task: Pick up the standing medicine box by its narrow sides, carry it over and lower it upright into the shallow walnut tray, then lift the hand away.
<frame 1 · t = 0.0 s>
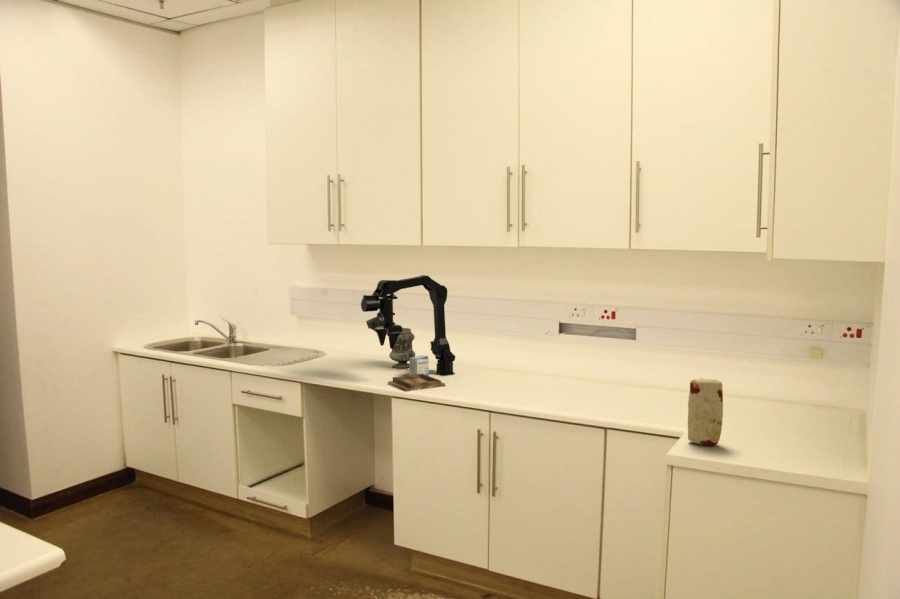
hand: (386, 347, 295), 15 cm above the worktop, tool pointing down, fingers open, 9 cm apart
food model: (704, 444, 209), on the worktop
walnut tray: (416, 384, 290), on the worktop
grey ornate vase: (402, 367, 327), on the worktop
medicine box: (419, 376, 307), on the worktop
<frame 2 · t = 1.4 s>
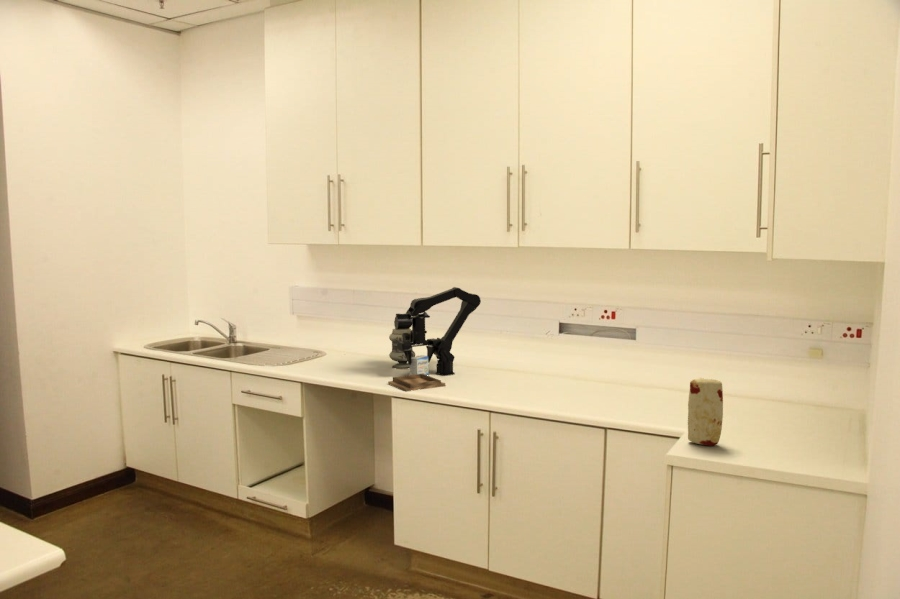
hand: (419, 363, 306), 6 cm above the worktop, tool pointing down, fingers open, 9 cm apart
nothing on the worktop moved.
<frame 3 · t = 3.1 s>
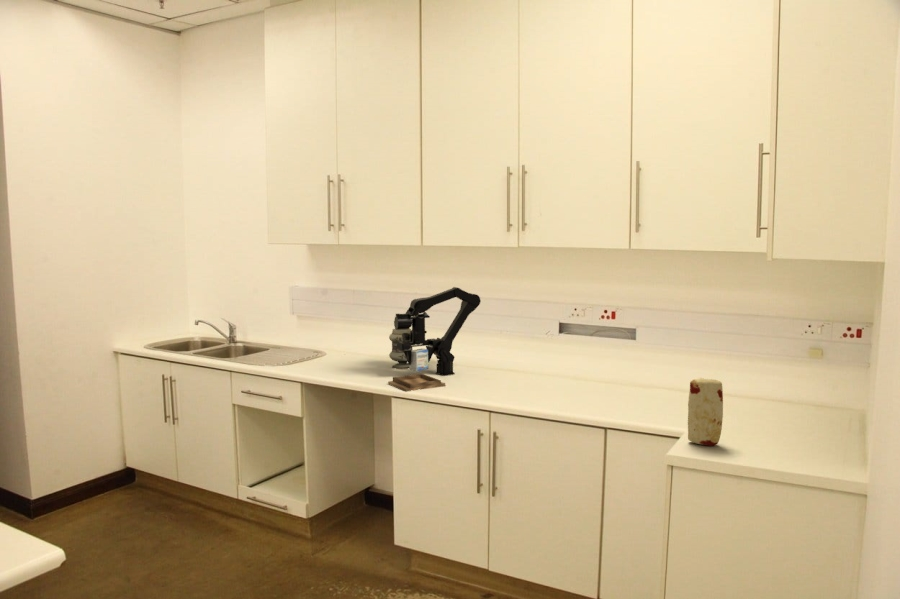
hand: (418, 363, 306), 6 cm above the worktop, tool pointing down, fingers closed on medicine box, 9 cm apart
medicine box: (418, 370, 307), point 3 cm above the worktop, touching gripper
everything else where it was.
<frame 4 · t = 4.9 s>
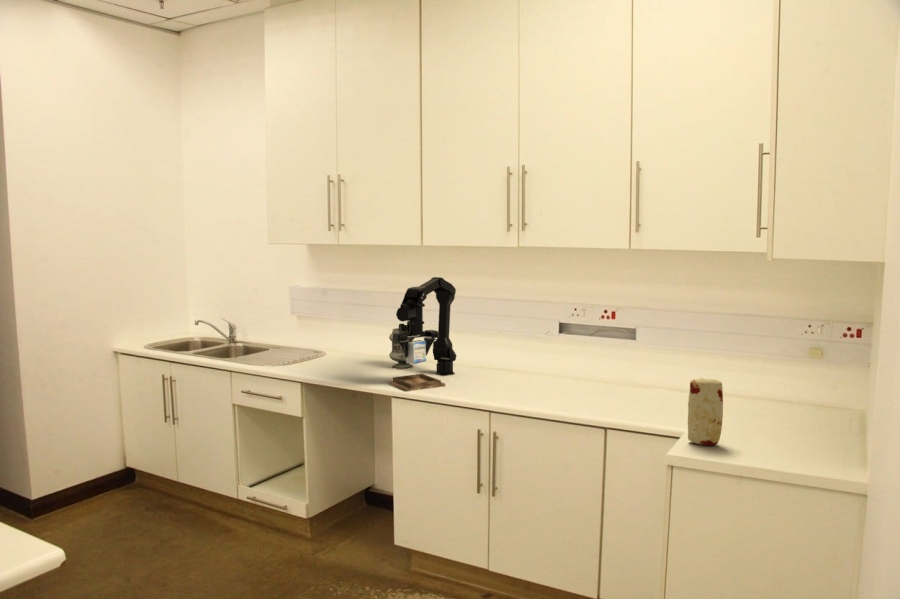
hand: (416, 356, 289), 12 cm above the worktop, tool pointing down, fingers closed on medicine box, 9 cm apart
medicine box: (416, 362, 289), point 9 cm above the worktop, touching gripper
everything else where it was.
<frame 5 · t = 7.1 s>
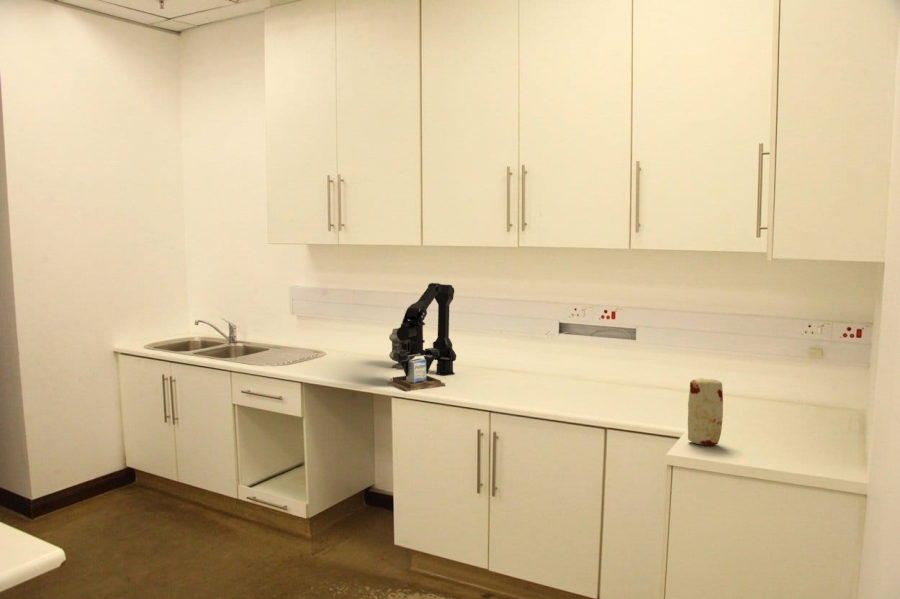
hand: (416, 374, 290), 4 cm above the worktop, tool pointing down, fingers closed on medicine box, 9 cm apart
medicine box: (416, 381, 290), point 1 cm above the worktop, touching gripper
everything else where it was.
when the fingers open (4 cm above the worktop, at t = 8.1 s): medicine box stays where it is, resting on walnut tray.
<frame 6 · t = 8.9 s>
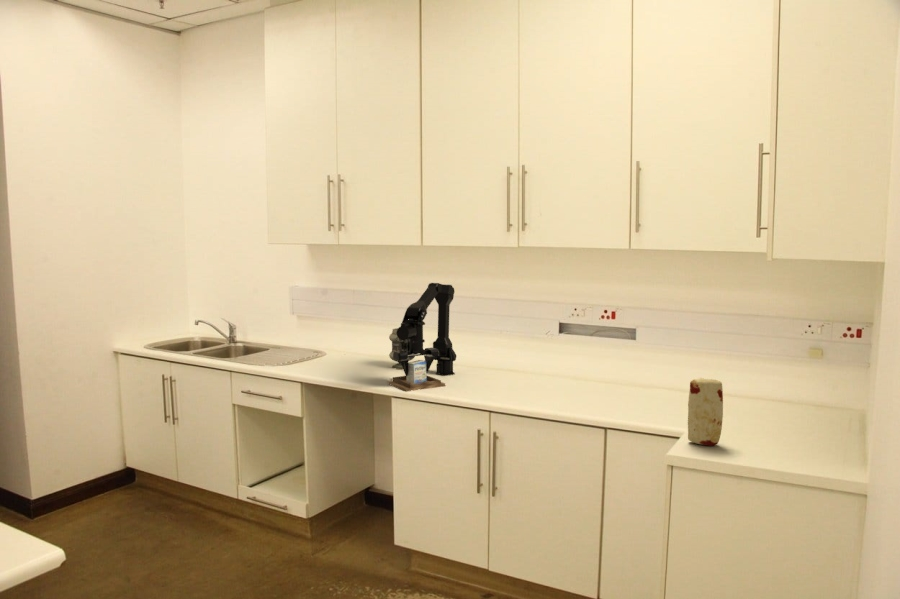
hand: (416, 374, 290), 4 cm above the worktop, tool pointing down, fingers open, 9 cm apart
medicine box: (416, 382, 290), point 1 cm above the worktop, touching gripper, walnut tray
everything else where it was.
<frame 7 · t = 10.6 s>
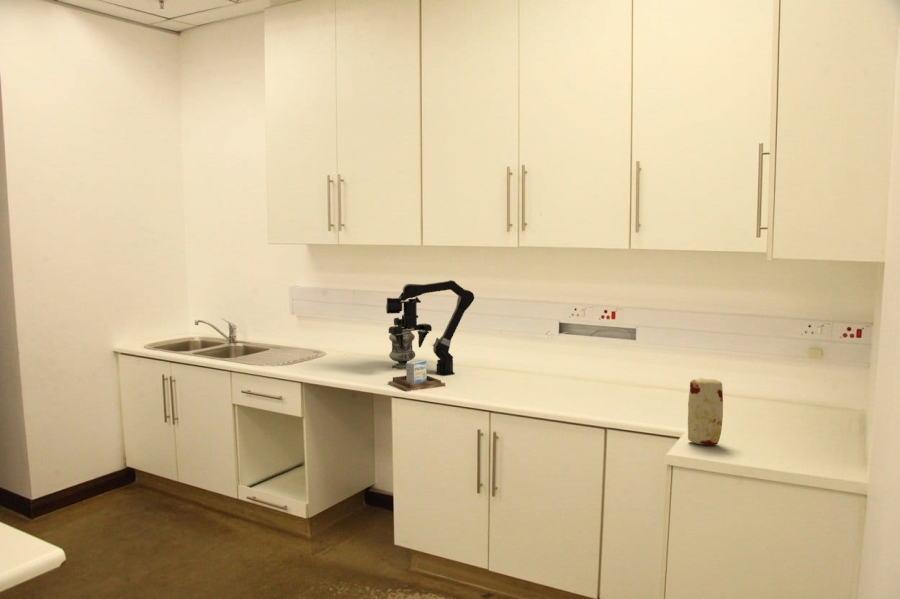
hand: (410, 348, 308), 12 cm above the worktop, tool pointing down, fingers open, 9 cm apart
medicine box: (416, 382, 290), point 1 cm above the worktop, touching walnut tray
everything else where it was.
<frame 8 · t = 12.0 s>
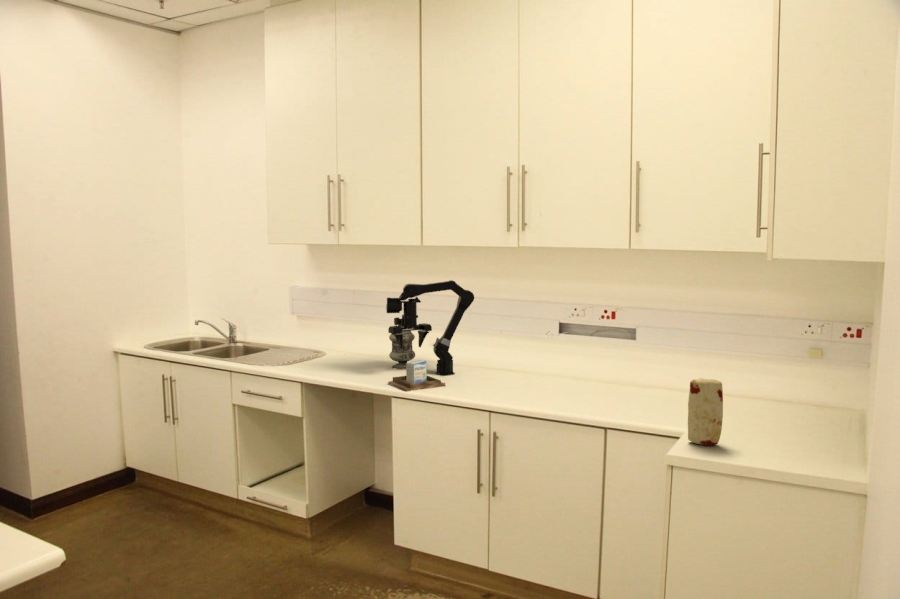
hand: (410, 348, 308), 12 cm above the worktop, tool pointing down, fingers open, 9 cm apart
nothing on the worktop moved.
at the end: medicine box inside the target area on the walnut tray (0.1 cm from its centre), point 0.8 cm above the walnut tray's base; medicine box tilted 0°; the gripper is holding nothing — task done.
